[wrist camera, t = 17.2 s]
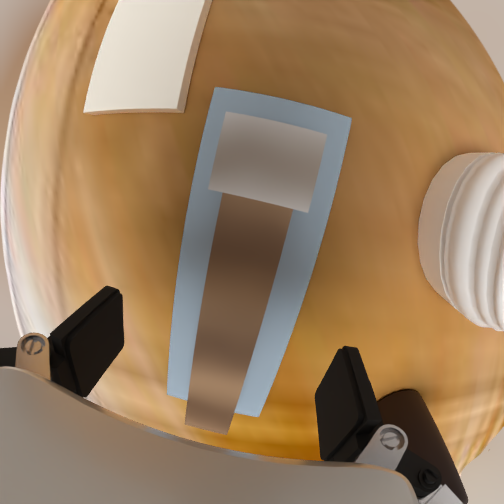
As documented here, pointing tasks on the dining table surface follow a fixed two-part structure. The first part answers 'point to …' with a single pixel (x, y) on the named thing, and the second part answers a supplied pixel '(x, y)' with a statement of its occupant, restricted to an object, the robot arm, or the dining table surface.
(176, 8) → the tile
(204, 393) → the tool
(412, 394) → the bottle
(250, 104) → the mat
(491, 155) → the honey pot
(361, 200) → the dining table surface
